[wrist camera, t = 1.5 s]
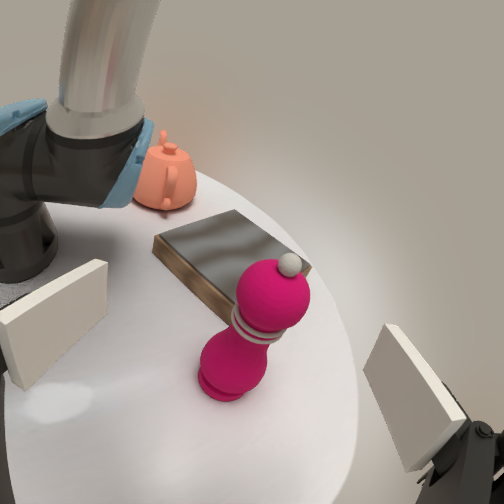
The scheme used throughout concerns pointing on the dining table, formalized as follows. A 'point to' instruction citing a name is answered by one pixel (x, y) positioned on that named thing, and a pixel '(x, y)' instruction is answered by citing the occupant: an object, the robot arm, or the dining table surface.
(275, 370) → the dining table surface
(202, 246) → the walnut stand
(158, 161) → the teapot
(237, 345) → the pepper mill
